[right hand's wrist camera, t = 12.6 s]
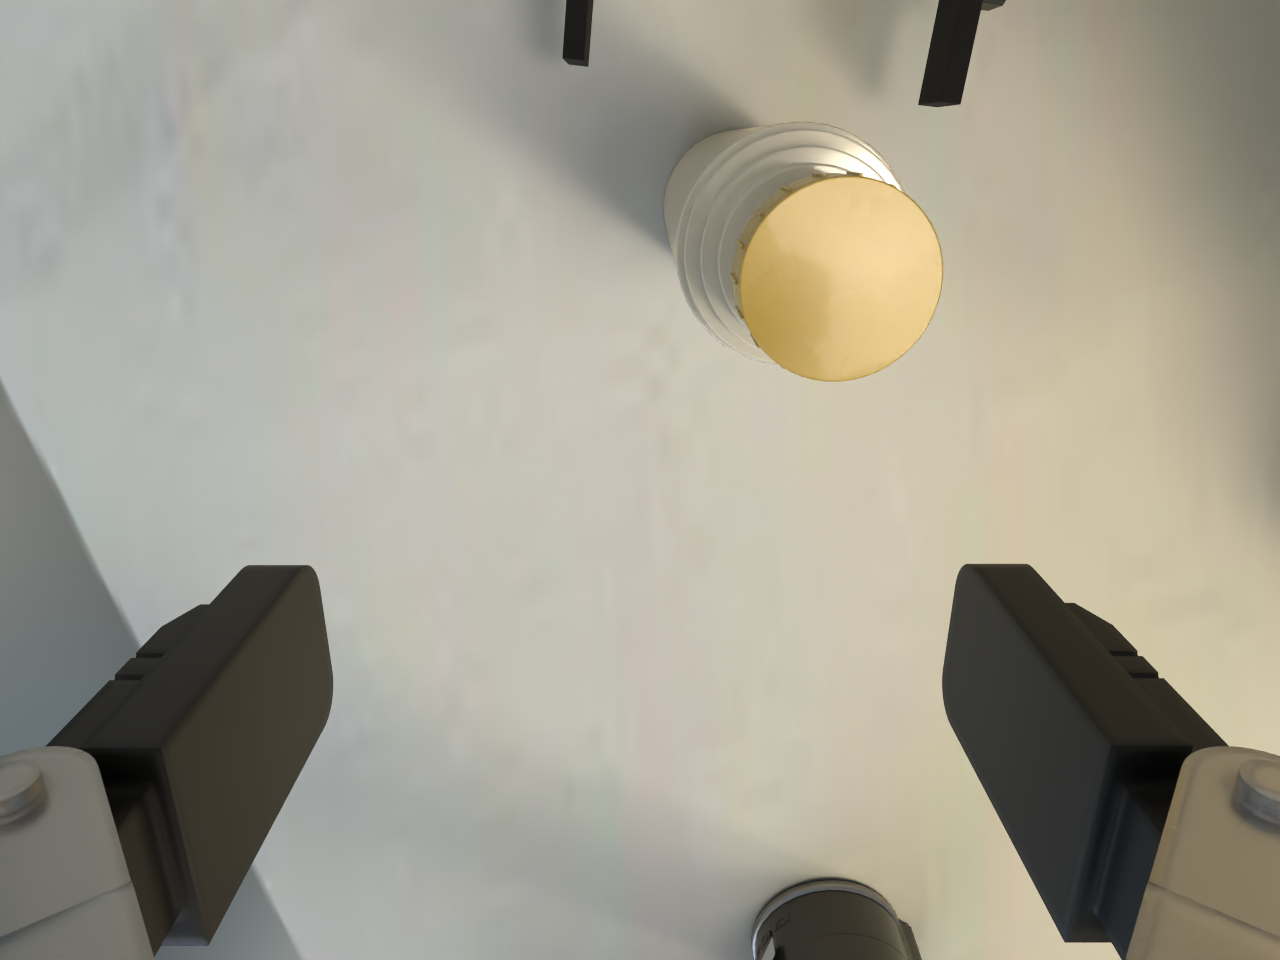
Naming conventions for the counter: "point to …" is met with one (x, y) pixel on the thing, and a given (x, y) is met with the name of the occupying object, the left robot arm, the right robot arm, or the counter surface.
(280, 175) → the counter surface
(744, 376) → the counter surface
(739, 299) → the cap
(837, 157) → the bottle
